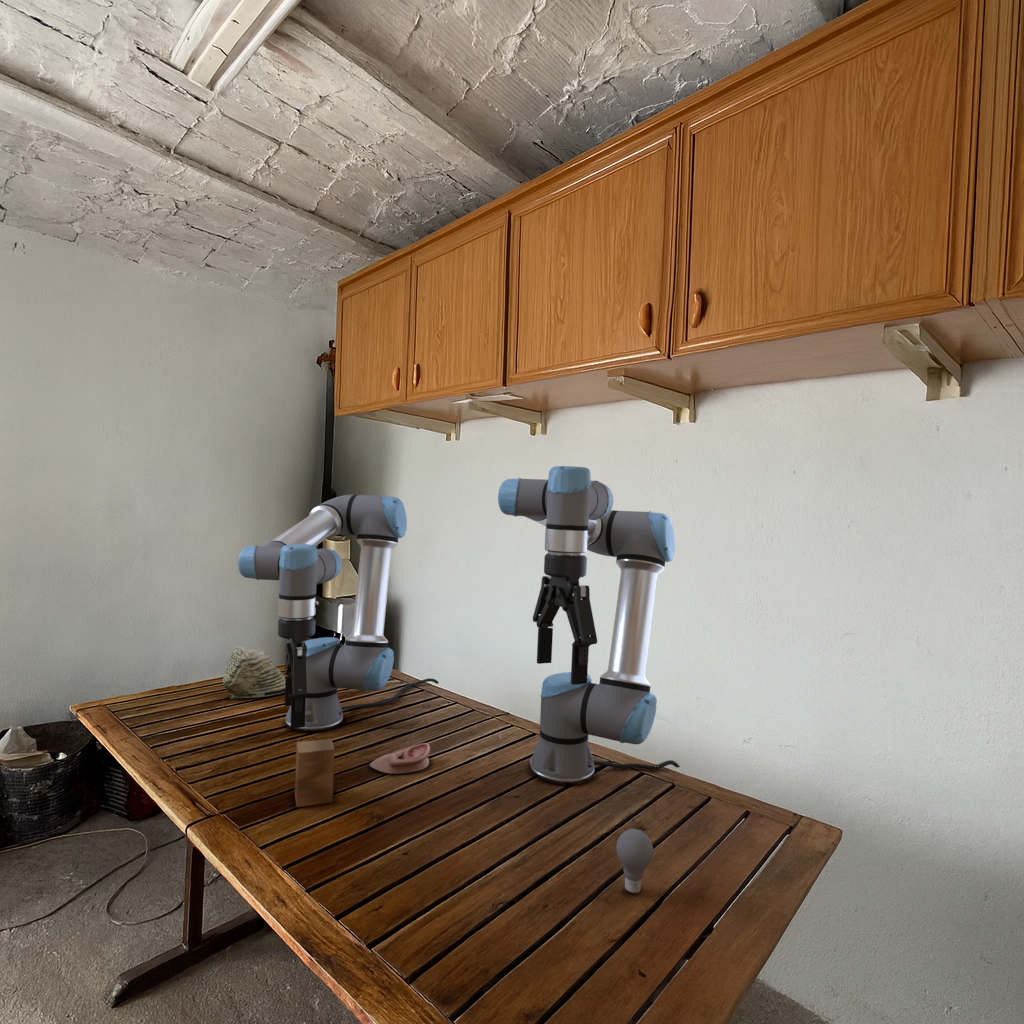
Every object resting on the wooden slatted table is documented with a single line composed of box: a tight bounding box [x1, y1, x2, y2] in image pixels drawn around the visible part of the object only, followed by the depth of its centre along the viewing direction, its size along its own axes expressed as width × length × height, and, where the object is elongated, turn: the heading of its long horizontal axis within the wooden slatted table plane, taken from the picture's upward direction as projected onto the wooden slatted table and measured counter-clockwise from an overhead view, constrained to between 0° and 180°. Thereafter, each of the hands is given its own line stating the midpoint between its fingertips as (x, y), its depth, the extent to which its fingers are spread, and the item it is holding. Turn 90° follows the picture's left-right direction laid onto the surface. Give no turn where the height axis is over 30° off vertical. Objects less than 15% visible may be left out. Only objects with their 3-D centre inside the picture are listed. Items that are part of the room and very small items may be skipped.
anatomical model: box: [369, 742, 431, 775], centre depth 151 cm, size 13×4×12 cm
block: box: [294, 738, 335, 808], centre depth 133 cm, size 7×6×11 cm
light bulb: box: [615, 828, 654, 894], centre depth 106 cm, size 6×6×10 cm
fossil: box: [222, 646, 286, 699], centre depth 198 cm, size 9×18×15 cm, turn 132°
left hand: (294, 715), depth 135 cm, fingers open, 13 cm apart
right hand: (560, 672), depth 113 cm, fingers open, 13 cm apart
